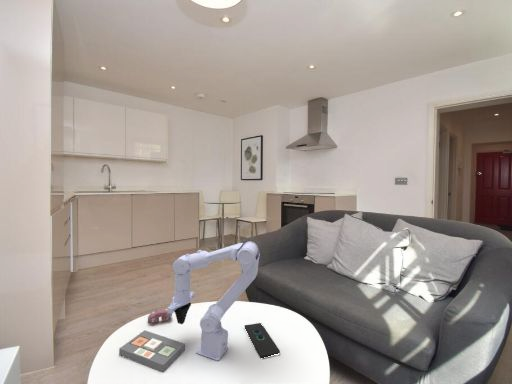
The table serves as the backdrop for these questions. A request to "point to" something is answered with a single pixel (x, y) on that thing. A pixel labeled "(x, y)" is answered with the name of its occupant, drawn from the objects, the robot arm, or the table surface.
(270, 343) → the smart home device
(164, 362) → the keypad
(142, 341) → the terracotta key
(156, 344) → the white key
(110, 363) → the table surface
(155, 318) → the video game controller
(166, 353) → the sage key
